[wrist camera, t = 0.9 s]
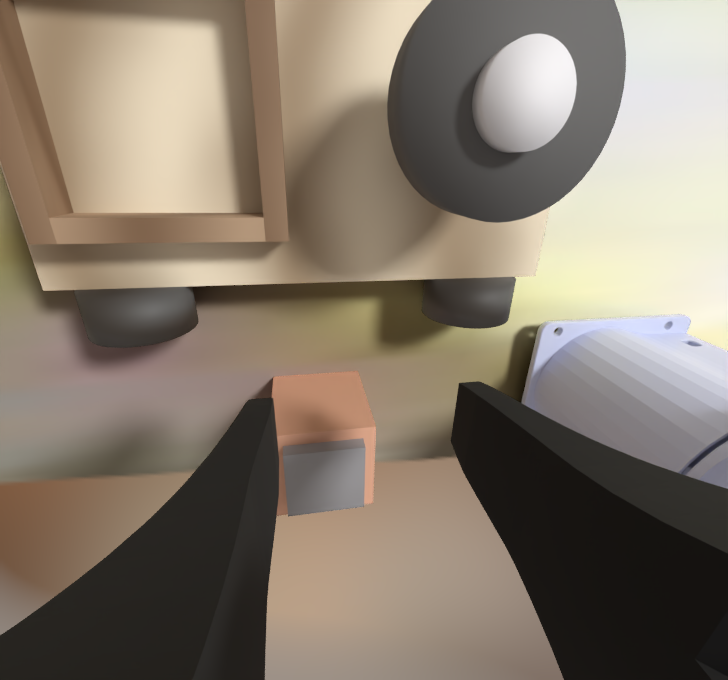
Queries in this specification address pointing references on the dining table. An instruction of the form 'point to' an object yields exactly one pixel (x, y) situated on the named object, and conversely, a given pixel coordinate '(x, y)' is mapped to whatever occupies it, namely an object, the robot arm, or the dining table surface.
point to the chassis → (227, 160)
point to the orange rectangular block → (323, 442)
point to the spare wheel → (505, 101)
